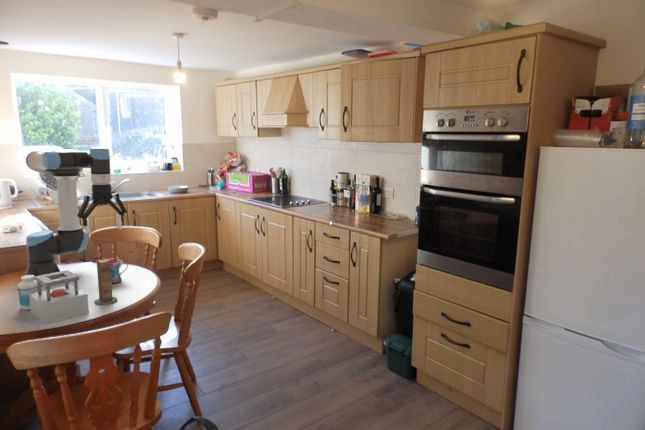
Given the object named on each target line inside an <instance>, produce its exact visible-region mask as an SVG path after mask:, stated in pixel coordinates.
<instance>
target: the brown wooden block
mask: <svg viewBox="0 0 645 430" xmlns="http://www.w3.org/2000/svg"><path fill="white" fill-rule="evenodd" d="M96 268H97V271H96V273H97V284H98V285H97V286H98V287H97V288H98V299H99V300H100V301H101V302H103V303H104V302H108V301H112V300H113V297H114V296H113V283H112V280H111V264H110V261H109V260H108V259H107V258H104V259H98V260H96Z"/></svg>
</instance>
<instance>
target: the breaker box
mask: <svg viewBox="0 0 645 430" xmlns="http://www.w3.org/2000/svg"><path fill="white" fill-rule="evenodd" d="M54 278H55V279H54ZM51 279H52V280H51ZM35 280H36V281H37V285H38V292H37V293H33V294H29V298H30V308H31V310H30V314H31V315H33V316H34V317H35V318H37V320H39V321H40V322H42V323H43V324H44V325H47V324H51V323H55V322H58V321H62V320H65V319H69V318H74V317H76V316H80V314H81V315H84V313H85V314H87V313H89V312H90V310H89V297H88V293H87V292H86V291H83V290H82V289H80V288H79V284H78V283H79V282H78V281H79V280H80V276H79V275H77V274H75V273H73V272H72V271H70V270H68V269H67V270H60V272H55V273H50V274H45V275H40V276H35ZM71 282H73V284H69V283H71ZM61 284H64V286H62V287H56V288H51V287H52V286H56V285H61ZM42 286H44V287H45V289H46V290H42ZM50 288H51V289H50ZM56 289H64V290H65V295H63V296H59V297H54V298H52V291H53V290H56Z"/></svg>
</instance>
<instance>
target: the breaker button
mask: <svg viewBox="0 0 645 430" xmlns="http://www.w3.org/2000/svg"><path fill="white" fill-rule="evenodd" d="M55 289H56V288H55ZM63 295H65V290H64V289H56V290H53V291H52V298H54V297H59V296H63Z"/></svg>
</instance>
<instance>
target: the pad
mask: <svg viewBox="0 0 645 430" xmlns="http://www.w3.org/2000/svg"><path fill="white" fill-rule="evenodd" d="M117 302H118V298H117V297H116V296H113V300H112V301H108V302H104V303H103V302H101V301H100V300H99V298H97V299H95V300H94V305H96V306H109V304H110V305H113V304H115V303H117Z"/></svg>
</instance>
